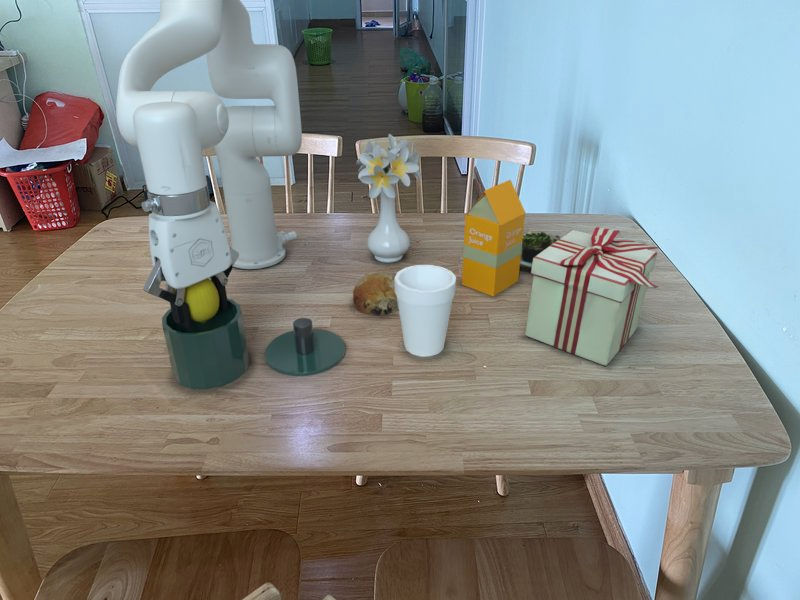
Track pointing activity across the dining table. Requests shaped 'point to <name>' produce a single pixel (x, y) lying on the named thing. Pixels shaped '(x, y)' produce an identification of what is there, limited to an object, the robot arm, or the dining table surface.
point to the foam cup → (424, 307)
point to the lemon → (202, 300)
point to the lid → (304, 350)
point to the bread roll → (376, 294)
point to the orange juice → (493, 240)
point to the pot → (208, 349)
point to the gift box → (589, 293)
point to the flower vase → (387, 195)
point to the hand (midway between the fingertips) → (202, 315)
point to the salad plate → (534, 247)
